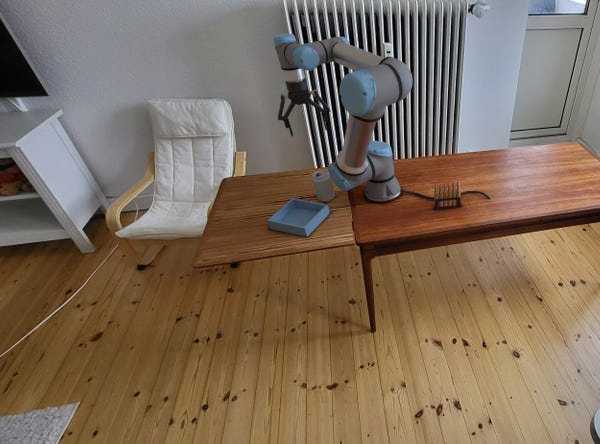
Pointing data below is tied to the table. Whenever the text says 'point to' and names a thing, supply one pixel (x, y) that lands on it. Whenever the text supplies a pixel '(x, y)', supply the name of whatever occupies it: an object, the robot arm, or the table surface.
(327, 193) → the can
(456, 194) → the ammunition clip
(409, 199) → the table surface
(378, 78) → the robot arm
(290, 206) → the tray
